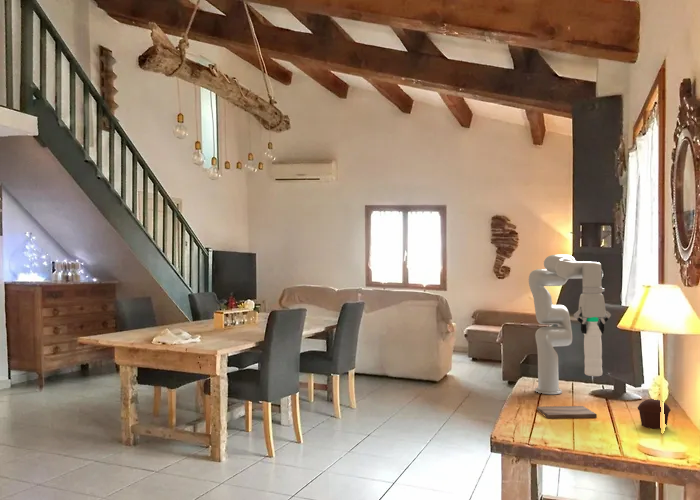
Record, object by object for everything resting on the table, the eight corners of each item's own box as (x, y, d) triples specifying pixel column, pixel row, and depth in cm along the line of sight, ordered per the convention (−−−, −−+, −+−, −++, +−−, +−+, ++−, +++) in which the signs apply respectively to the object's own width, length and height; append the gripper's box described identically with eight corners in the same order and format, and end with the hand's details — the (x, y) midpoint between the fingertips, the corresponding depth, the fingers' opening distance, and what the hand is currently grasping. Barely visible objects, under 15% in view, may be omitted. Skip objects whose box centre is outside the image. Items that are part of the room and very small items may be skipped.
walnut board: (536, 410, 264) (536, 406, 264) (583, 409, 264) (582, 405, 264) (547, 418, 250) (547, 414, 250) (596, 417, 250) (596, 414, 250)
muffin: (647, 430, 232) (647, 403, 232) (631, 422, 243) (631, 397, 243) (677, 429, 233) (677, 402, 233) (660, 421, 244) (659, 396, 244)
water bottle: (599, 373, 263) (597, 315, 264) (604, 376, 256) (603, 316, 256) (582, 373, 264) (581, 315, 264) (587, 376, 257) (586, 316, 257)
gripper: (608, 290, 264) (608, 331, 264) (568, 290, 264) (568, 332, 264) (616, 291, 257) (616, 334, 257) (575, 291, 256) (576, 334, 256)
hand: (592, 332), depth 260 cm, fingers closed on water bottle, 6 cm apart
